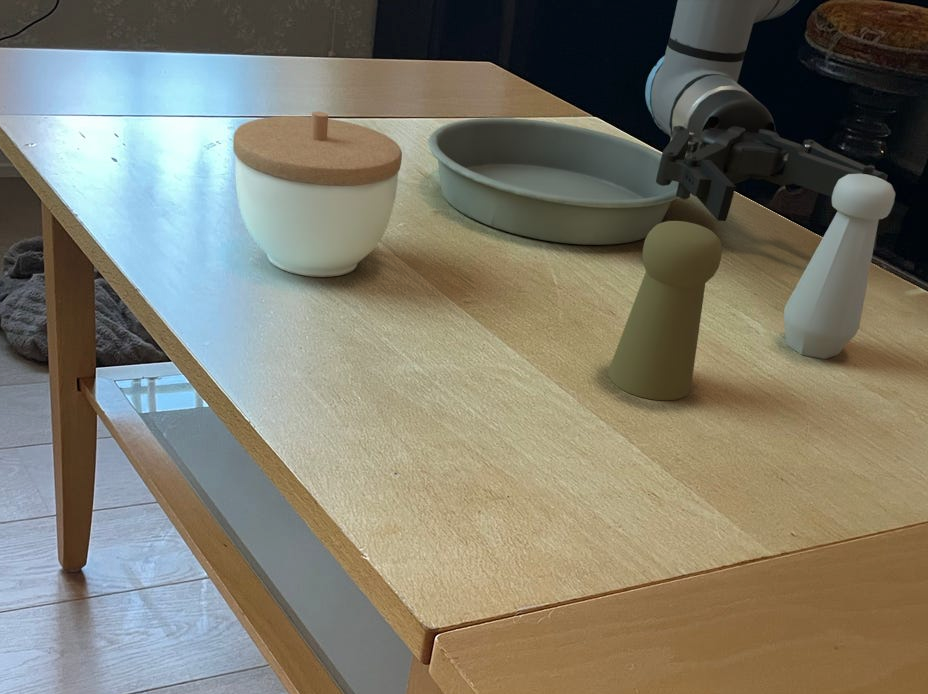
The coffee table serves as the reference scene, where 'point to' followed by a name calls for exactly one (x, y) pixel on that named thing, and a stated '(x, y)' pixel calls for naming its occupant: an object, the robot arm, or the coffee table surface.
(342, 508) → the coffee table surface
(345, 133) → the lidded bowl
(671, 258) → the olive pawn figure
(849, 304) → the salt shaker
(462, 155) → the cake pan
